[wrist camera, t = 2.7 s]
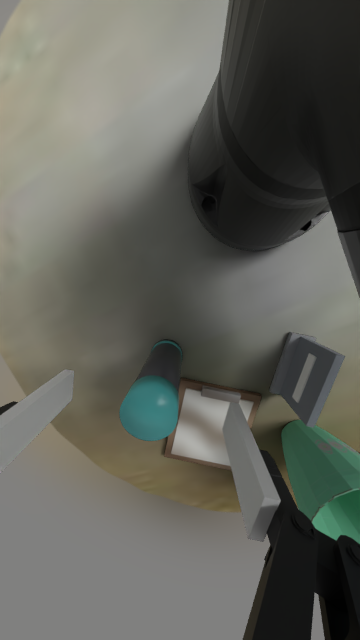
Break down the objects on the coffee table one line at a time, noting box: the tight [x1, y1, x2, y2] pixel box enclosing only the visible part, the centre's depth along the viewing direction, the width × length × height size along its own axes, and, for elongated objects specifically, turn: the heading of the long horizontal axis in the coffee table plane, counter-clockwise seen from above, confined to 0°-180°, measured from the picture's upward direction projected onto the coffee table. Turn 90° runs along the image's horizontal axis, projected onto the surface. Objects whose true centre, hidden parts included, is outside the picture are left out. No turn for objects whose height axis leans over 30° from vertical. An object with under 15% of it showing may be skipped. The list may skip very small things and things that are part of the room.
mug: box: [281, 420, 360, 544], centre depth 20 cm, size 15×10×10 cm
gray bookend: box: [269, 332, 345, 428], centre depth 20 cm, size 8×3×6 cm, turn 169°
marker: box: [120, 340, 182, 441], centre depth 18 cm, size 4×4×11 cm
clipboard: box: [164, 378, 262, 471], centre depth 25 cm, size 13×11×1 cm
